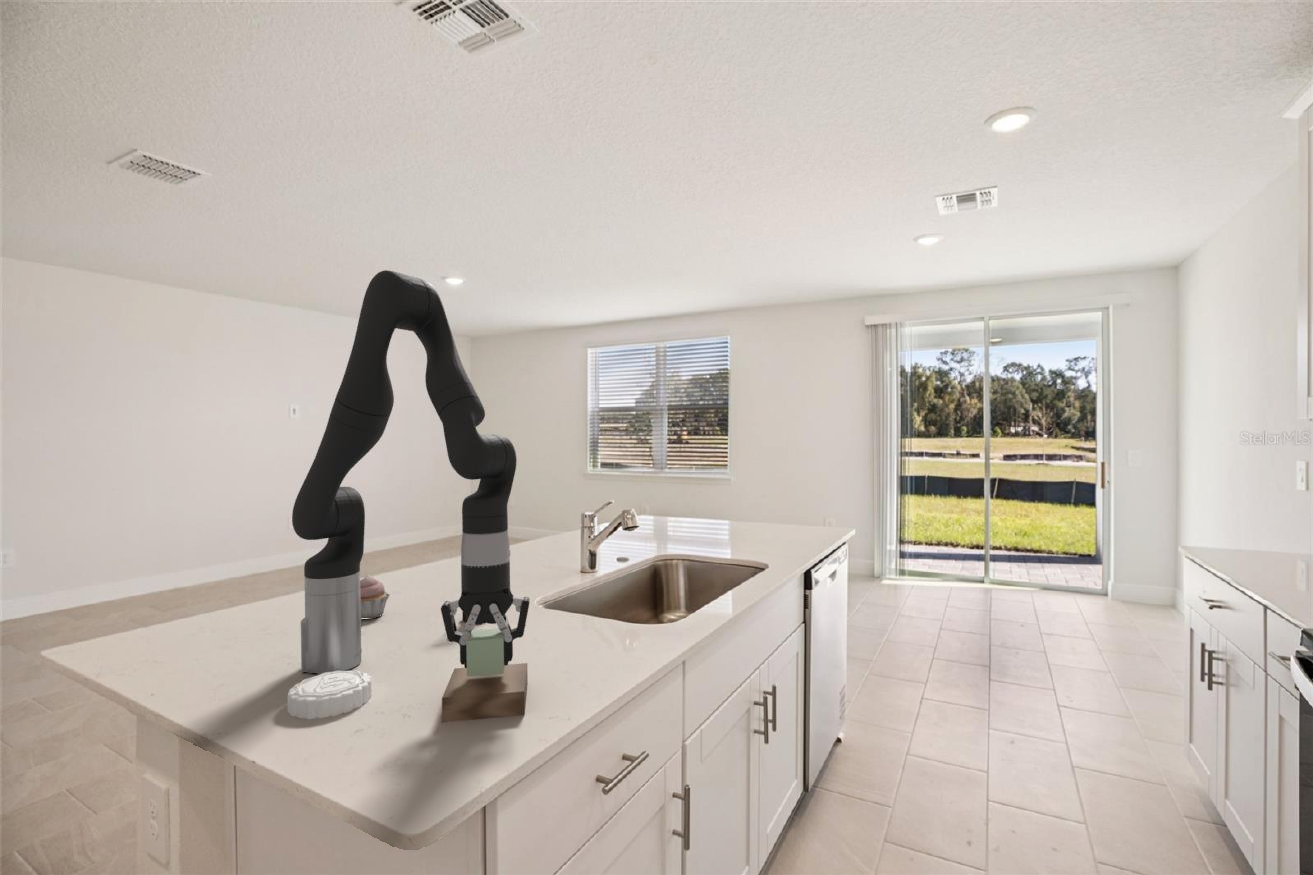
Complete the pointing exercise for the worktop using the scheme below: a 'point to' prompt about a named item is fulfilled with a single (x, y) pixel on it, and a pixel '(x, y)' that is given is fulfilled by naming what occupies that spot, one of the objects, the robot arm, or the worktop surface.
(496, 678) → the walnut block
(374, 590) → the cupcake
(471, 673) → the sage block
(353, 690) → the mooncake
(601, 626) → the worktop surface
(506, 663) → the robot arm
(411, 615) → the worktop surface
